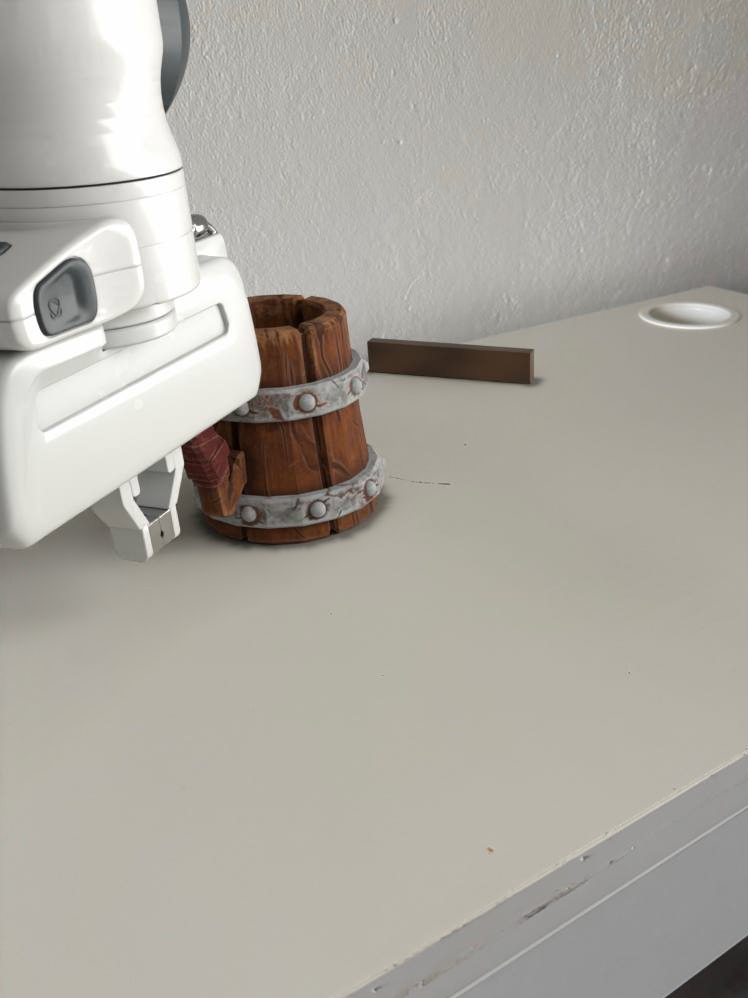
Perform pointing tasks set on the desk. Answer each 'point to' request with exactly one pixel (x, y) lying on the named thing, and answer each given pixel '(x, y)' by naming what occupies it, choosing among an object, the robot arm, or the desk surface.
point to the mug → (291, 433)
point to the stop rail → (451, 360)
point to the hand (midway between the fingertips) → (150, 548)
